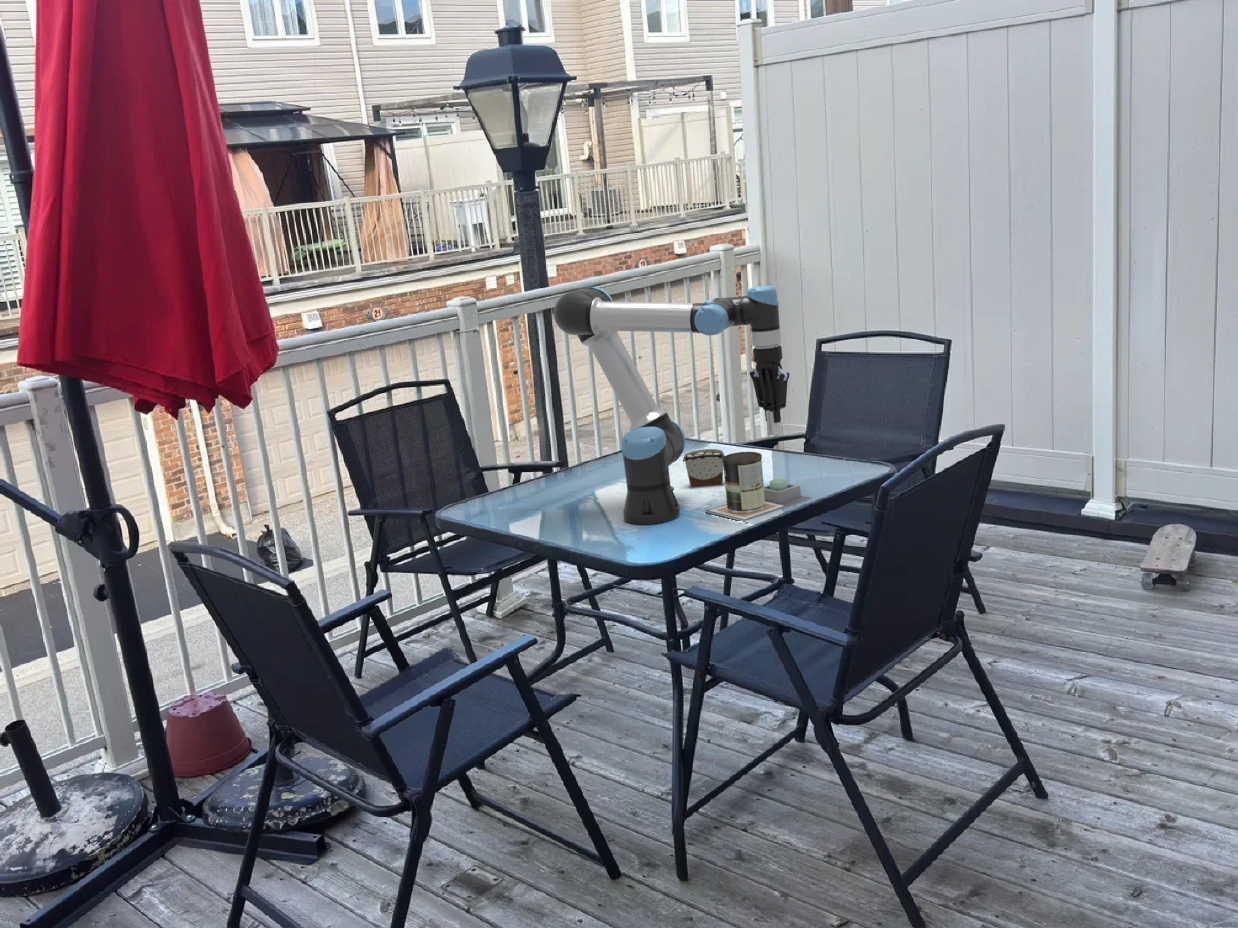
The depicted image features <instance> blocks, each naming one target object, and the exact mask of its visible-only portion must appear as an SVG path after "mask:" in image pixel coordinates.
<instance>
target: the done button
mask: <svg viewBox="0 0 1238 928" xmlns="http://www.w3.org/2000/svg"><path fill="white" fill-rule="evenodd" d="M788 481H789V480H788V479H786V478H777V479H771V480H769V485H770V490H775V491H780V490H784V489H787V488H788V483H789V482H788Z"/></svg>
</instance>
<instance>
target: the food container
mask: <svg viewBox="0 0 1238 928" xmlns="http://www.w3.org/2000/svg"><path fill="white" fill-rule="evenodd" d="M724 456H726V455H725V452H723V450H721V449H716V448H705V449H697V450H692V451H689V452H686V453H684V455H683V457H682V458H683V459H682V462H683V463H685V468H686V472H687V476H688V482H689V486H690V487H689V488H690V489H699V488H700V489H701V488H710V487H723V486H724V468H723V461H722V458H723V457H724Z"/></svg>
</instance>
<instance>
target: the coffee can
mask: <svg viewBox="0 0 1238 928" xmlns="http://www.w3.org/2000/svg"><path fill="white" fill-rule="evenodd" d="M762 456H763V455H762V453H760V452H757V451H740V452H734V453H732V452H731V453H729V454H726V455H725V456H724V457H723V458H722V461H723V479H724V485H725V486H724V487H725V497H726V504H727V510H728V511H729V512H732V513H739V514H744V513H753V512H757V511H760V510H763V509H764V508H765V507H766V505H765V495H764V486H765V483H764V474H763V472H764V471H763V462H762V458H763V457H762Z"/></svg>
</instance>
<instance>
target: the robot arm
mask: <svg viewBox="0 0 1238 928" xmlns="http://www.w3.org/2000/svg"><path fill="white" fill-rule="evenodd" d="M777 294H778V293H777V289H776V288H775V286H773V285H761V286H754V287H750V288H748V289H747V294H746V295H744V296H734V297H733V296H730V297H715V298H709V299H707V300H706V299H705V300H704V302H658V301H656V302H654V301H652V302H648V301H642V302H641V301H613V298H612V297H611V295H610V294H609V293H608V292H607V291H605V290H604V289H602V288H600V287H598V286H597V287H595V286H584V287H581V288H580V289H576V290H573V291H569V292H566V293H565V294H563V295H561V296H560V297H559V298H558V300H557V301H556V303H555V306H554V310H553V317H554V318H553V319H554V321H555V323H556V325H557V327H558V328H559V329H560V330H561V331H562V332H564V333H566V334H568V335H571V336H577V337H578V340H579V341H580V342H581V344H582V345H584V346H587V347H589V348H590V350H591V351H592V353H593V355H594V357H595V359H596V361H597V362H598V365H599V367H601V370H602V372H603V374H604V375H605V377H606V379H607V381H608V383H609V385H610V387H611V388H612V391H614V393H615V396H616V398H617V400H618V401H619V403H620V404H621V406H622V409H623V411H624V413H625V414H626V416H627V418H628V420H629V421H630V427H629V431H627V432H626V433H624V435H623V436H622V439H621V452H622V459H623V465H624V466H623V467H624V472H625V473H624V474H625V475H624V476H625V482H626V491H627V492H626V497H625V503H624V509H623V513H622V514H623V519H624V522H626V523H628V524H633V525H655V524H656V525H657V524H661V523H662V524H663V523H665V522H668V521H672V520H674V519H677V518H678V517H679V516H680V515H681V511H680V504H679V502H678V500H677V497H676V495H675V492H674V491H673V488H672V486H671V479H670V469H669V467H670V465H672V464H673V463H675V462H676V461H678V459H680V457H681V456H682V454H683V453H684V450H685V447H686V435H685V433H684V431H683V428H682V427H681V426H680V424H678V423H677V422H674V421H673V420H672V419H671V417H670V416H669V414H668V413H667V411H666V410H665V409H664V410H663V409H660V408H659V406H658V405H657V403H656V402H655V400H654V398H653V396H652V394H651V392H650V390H649V388H648V387H647V385H646V382H645V381H644V379H643V377H642V375H641V374H640V372H639V370H638V368H637V366H636V364H635V362H634V360H633V359H632V357H631V355H630V353H629V351H628V350H627V347H626V346H625V344H624V342H623V340H622V338H621V337H620V334H619V333H618V332H648V333H649V332H650V333H651V332H652V333H693V334H702V335H705V336H716V335H719V334H721V333H722V332H724V330H726V329H728V328H730V327H736V326H749V325H750V334H751V335H750V336H751V337H750V338H751V346H752V347H753V348H752V357H753V362H754V363H756V365H755V368H754V370H752V371H749V376H750V378H751V380H752V383H753V384H752V385H753V387H754V392H755V397H756V402H757V405H758V407H759V408H762V409H763V410H764V417H765V422H766V426H767V435H768V436H776V435H779V434H781V433H782V431H781V421H782V416H781V410H782V409H785V408H786V407H787V395H788V382H789V378H790V373H789V372H785V371H784V370H783V366H782V364H781V361H782V360H783V350H782V349H783V348H782V346H781V345H780V344H781V343H782V338H781V326H780V311H779V301H778V300H779V299H778V295H777Z"/></svg>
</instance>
